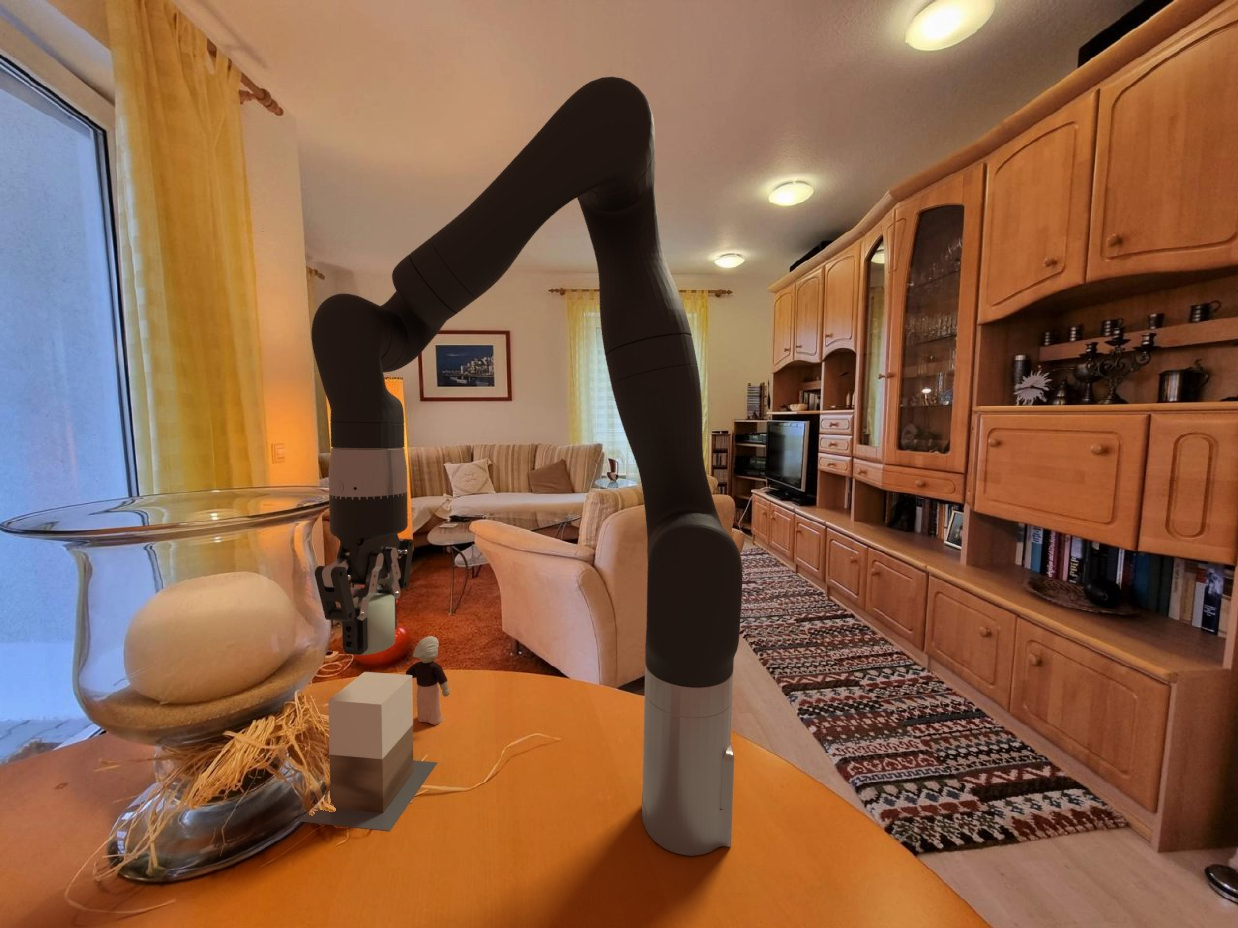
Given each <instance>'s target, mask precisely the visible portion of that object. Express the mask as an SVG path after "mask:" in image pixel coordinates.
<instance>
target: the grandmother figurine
mask: <svg viewBox="0 0 1238 928" xmlns="http://www.w3.org/2000/svg"><path fill="white" fill-rule="evenodd" d="M439 643H440V642H439V640H438V638H437V637H435V636H432V635H428V636H426V637H424V638H422V639H421V640H420V641H418V643H417V644H416V647H414V651H413V654H412V655H413V657H414V658H415V659H416V658H418V659H419V660H420V661H418V662H415V663H414V664H412V665H410V667H409V668H408V669H407V670H406V671H405V675H412V680H413V679H416V685H417V689H416V709H417V710H416V711H417V721H418V722H420V723H429V724H431V725H432V726H438V725H439V724H441V723H443V722H445V720H446V718H444V717H442V710H441V708H442V707H441V695H442V696H443V697H448V696H449V695H450V694H451V690H450V688H449V683H448V678H447V676H446V674H445V671H444V670H443V666H441V664H439V663H437V662H435V661H436V659H437V657H438V654H439V649H438V648H439ZM441 693H442V694H441Z"/></svg>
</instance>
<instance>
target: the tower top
mask: <svg viewBox="0 0 1238 928" xmlns="http://www.w3.org/2000/svg"><path fill="white" fill-rule="evenodd" d="M413 694H414V693H413V679H412V675H406V674H399V673H387V672H386V673H383V672H373V671H371V672H370V671H364V672H363V673H361V674H359V676H357V677H356V678H355V679H353V680H352V681H350V683H348V684H347V685H346V686H345V687H343V688H342V689H340V691H338V692H336V694H334V695H333V696H331V698H329V699H328V700H327V705H328V707H327V709H328V743H329V744H328V745H329V747H328V748H329V752H328V753H329V754H330V755H341V756H352V757H363V758H374V759H383V758H384V757H385V756H386V755H387V753H388V752H389V751H390V750H391V749H392V748H393V747H394V745H395V744H396V743H397V742H398V741H399V740H400V739H401V737H402V736H403V735H404V734H405V733H406V732H407V731H408V729H409V728H410V727H411V726H412V725H413V726H414V713H413V712H414V706H413V705H414V702H413Z"/></svg>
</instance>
